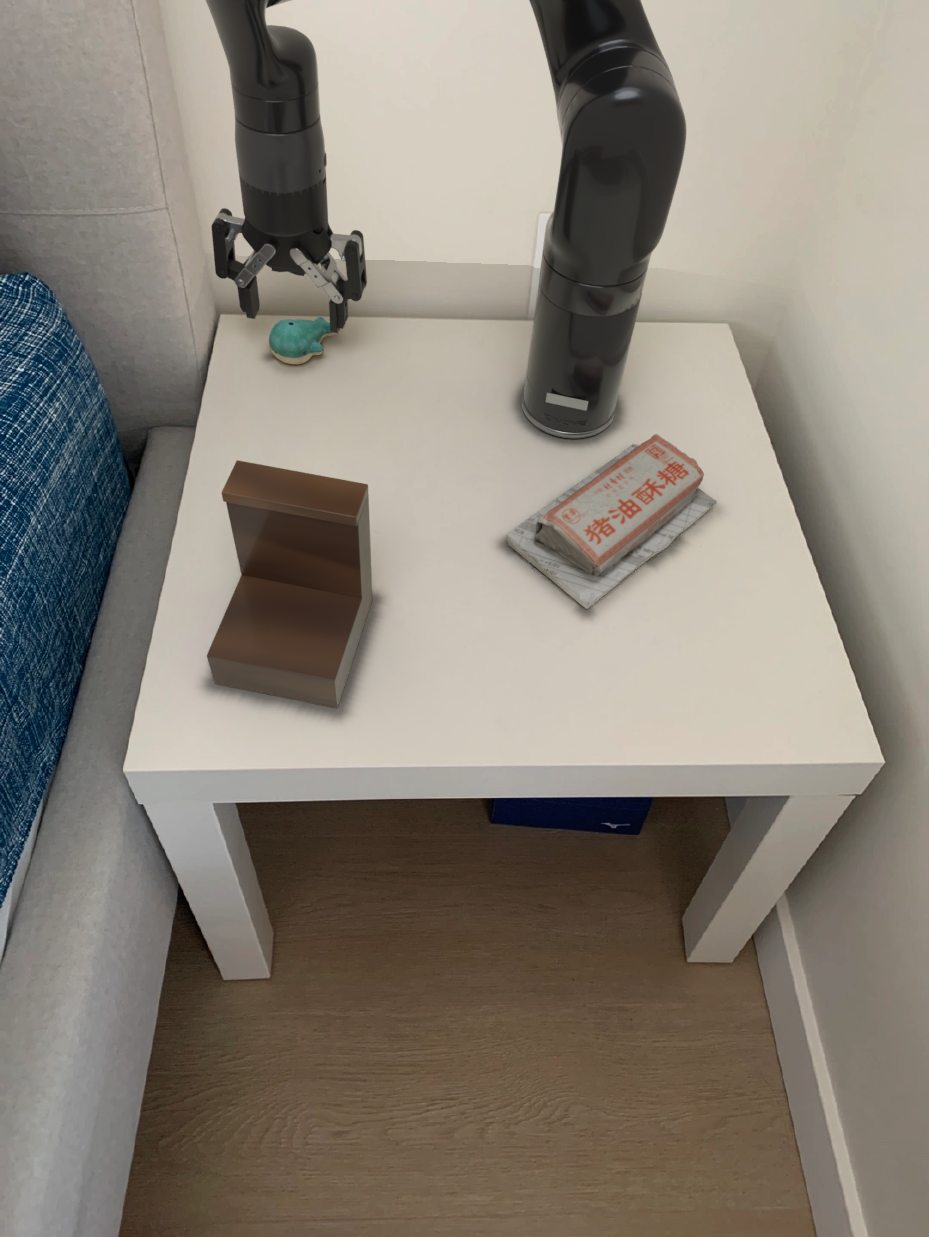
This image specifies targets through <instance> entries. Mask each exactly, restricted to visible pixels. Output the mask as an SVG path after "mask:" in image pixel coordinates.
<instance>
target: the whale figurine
mask: <svg viewBox="0 0 929 1237" xmlns="http://www.w3.org/2000/svg"><path fill="white" fill-rule="evenodd" d="M335 334H336V333H332V332H331V331H330V321H327V320H326V319H325V318H324V317H323V316H318V317H316V318H315V319H314V320H310V319H302V318H301V319H298V318H297V319H295V318H293V319H292V318H286V319H281V320H279V321H278V322H277V323H275V324H274V325H273V326H272V327H271V330H270V332H269V334H268V335H269V336H268V344H269V350H270V351H271V354H272V355H273V356H274V357H275V358H276V359H278V360H279V361H281V362H283V363H285V364H288V365H300V364H301V365H302V364H304V363H307V362H308V361H309V360H310V359H311V358H312V357H313V356H319V355H321V354H323V353H324V347H323V345H322V344H321V343H322V341H323V339H324V338H325V337H331V336H334V335H335Z"/></svg>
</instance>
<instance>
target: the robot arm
mask: <svg viewBox="0 0 929 1237" xmlns="http://www.w3.org/2000/svg"><path fill="white" fill-rule="evenodd" d="M291 1H292V0H205V2H206V5H207V7H208V10H209V13H210V15H211V18H212V20H213V24H214V26H215V29H216V31H217V34H218V38H219V40H220V43H221V47H222V49H223V52H224V55H225V58H226V61H227V65H228V69H229V76H230V77H229V78H230V79H229V80H230V85H231V92H232V93H231V94H232V102H233V109H234V144H235V145H234V146H235V153H236V159H237V161H236V162H237V169H238V178H239V185H240V194H241V195H240V196H241V202H242V209H243V210H242V211H243V216H244V218H242V217H238V216H233V212H232V211H231V210H229V209H228V208H226V207H223V208H221V209H220V210H219V212H218V214H217V216H216V217H215V219H214V220H213V222H212V224H211V237H212V248H213V260H214V270H215V274H216V276H217V277H218V278H219V279H222V280H225V279H227V278H228V279H230V280H231V281H233V282H234V284H235V285H236V287H237V294H238V301H239V308H240V310H241V311H242V312H243V313H245V315H246V316H245V317H246V318H247V319H252V320H255V319H256V317H257V316H258V314H259V312H260V307H261V302H260V294H259V285H258V278H257V275H258V274H259V273H260V271H262V269H263V268H264V267H265V266H267V267H268V268H270V269H271V272H276V273H289V274H293V275H295V276H300V277H305V275H307V276H308V277H309V279H310V280H311V281H312V283H314V286H316V287H317V288H321V289H322V290H323V291H324V293H325V294H326V295H327V296H328V298H329V302H328V310H329V323H330V331H331V332H332V333H335V334H339V332H340V331H341V329H342V330H344V328H345V325H346V323H347V321H348V318H349V300H351V301H352V302H353V301H354V302H359V301H360V300H361V299H362V296H363V293H364V290H365V288H366V287H367V284H368V278H367V266H366V253H365V239H364V233H362V231H360V230H357V229H354V230H352V231H351V232H350V234H341V233H334V231H333V230H332V228H331V225H330V223H329V210H328V208H329V207H328V206H329V205H328V188H327V187H328V186H327V168H326V167H327V153H326V145H325V144H326V143H325V137H324V135H325V134H324V130H323V126H322V120H321V105H320V83H319V70H318V69H319V68H318V66H319V65H318V59H317V53H316V50H315V46H314V44H313V43H312V40H311V39H310V38H309V37H308V36H307V35H306V34H305V33H303V32H302V31H300V30H298V29H295V28H293V27H289V26H285V25H275V24H267V18H266V10H267V9H269V8H271V7H272V8H273V7H276V6H278V5H281V4H285V3H288V2H291ZM528 2H529V4H530V6H531V9H532V13H533V15H534V18H535V21H536V24H537V29H538V32H539V35H540V39H541V42H542V46H543V50H544V53H545V54H544V55H545V58H546V62H547V66H548V71H549V75H550V79H551V85H552V88H553V95H554V100H555V110H556V117H557V122H558V128H559V135H560V140H561V157H560V166H559V174H558V180H557V181H558V182H557V188H556V193H555V199H554V200H555V201H554V207H553V211H552V212H551V214H550V215H549V216H548V219H547V220H546V224H545V229H544V237H543V245H542V252H541V260H540V269H539V276H538V284H537V292H536V299H535V300H536V301H535V306H534V307H535V308H534V314H533V321H532V329H531V337H530V344H529V353H528V358H527V366H526V367H527V368H526V374H525V381H524V388H523V391H522V396H521V408H522V411H523V413H524V415H525V417H526V419H527V420H528V421H529V422H530V423H531V424H532V425H533V426H534V427H536V428H537V429H539V430H540V431H542V432H544V433H547V434H548V435H552V436H555V437H558V438H564V439H585V438H589V437H592V436H593V437H594V436H595V435H597V434H600V433H602V432H603V431H604V430H606V429H607V428H608V427H609V426H610V425H611V424H612V423H613V420H614V418H615V414H616V410H617V402H618V397H619V393H620V389H621V385H622V380H623V378H624V372H625V369H626V365H627V360H628V356H629V351H630V348H631V342H632V340H633V339H632V338H633V334H634V330H635V325H636V321H637V318H638V312H639V308H640V304H641V300H642V296H643V290H644V286H645V282H646V277H647V274H648V268H649V265H650V261H651V258H652V253H653V252H654V251H655V249H656V248H657V247H658V245H659V244H660V241H661V239H662V237H663V235H664V231H665V228H666V224H667V222H668V221H667V220H668V218H669V214H670V210H671V207H672V204H673V201H674V200H673V199H674V196H675V192H676V188H677V185H678V181H679V177H680V173H681V169H682V165H683V162H684V156H685V150H686V144H687V120H686V116H685V112H684V109H683V106H682V102H681V100H680V96H679V93H678V90H677V86H676V84H675V80H674V77H673V75H672V72H671V70H670V67H669V64H668V63H667V60H666V59H665V57H664V55H663V53H662V50H661V49H660V46H659V44H658V41H657V39H656V36H655V34H654V32H653V29H652V27H651V24H650V22H649V19H648V15H647V13H646V10H645V8H644V5H643V3H642V0H528ZM239 234H241V235H242V237H243V239H244V240H245V241H246V243H247V244H248V245H249V246H250V247H251V249H252V252H251V253H250V254H249V255H248V257H247V258H246V259H245V261H244V262H241V261H238V260H237V259H236V248H235V241H236V240H237V238H238V236H239ZM332 249H334V250H335V251H336V252H337V253H338V256H339V258H340V261H342V262H345V269H346V277H345V276H344V274H343V273H342V272H341V270H340V269H339V268H338V266H337V265H338V264H337V261H336V259H335V258H334V257H333V256H332V254H331V252H330V251H331V250H332ZM319 264H320V266H319Z"/></svg>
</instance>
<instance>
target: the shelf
mask: <svg viewBox="0 0 929 1237" xmlns="http://www.w3.org/2000/svg"><path fill="white" fill-rule="evenodd" d="M369 494H370V493H369V484H368V483H363V482H358V481H353V480H352V481H351V480H347V479H341V478H336V477H331V476H325V475H320V474H313V473H309V472H304V471H299V470H294V469H293V470H291V469H288V468H282V467H275V466H270V465H266V464H259V463H254V462H248V461H242V460H235V463H234V466H233V468H232V469H231V471H230V473H229V476H228V478H227V480H226V482H225V484H224V486H223V488H222V490H221V497H222V501H223V502H224V503H225V504H226V508H227V514H228V518H229V523H230V529H231V532H232V533H231V534H232V537H233V541H234V542H233V543H234V547H235V550H236V557H237V561H238V566H239V570H240V577H239V579H238V582H237V584H236V587H235V588H234V591H233V594H232V596H231V598H230V600H229V603H228V605H227V608H226V610H225V612H224V614H223V617H222V618H221V622H220V624H219V626H218V628H217V630H216V633H215V634H214V635H215V636H214V637H213V640H212V642H211V645H210V646H209V649H208V651H207V654H206V658H207V662H208V665H209V669H210V673H211V676H212V680H213V683H214V684H215V685H219V686H224V687H229V688H234V689H239V690H245V691H249V692H254V693H258V694H264V695H269V696H273V697H279V698H284V699H288V700H289V699H290V700H293V701H298V702H304V703H309V704H314V705H318V706H324V707H329V708H334V709H338V708H339V705H340V702H341V698H342V695H343V693H344V690H345V686H346V683H347V680H348V677H349V674H350V671H351V667H352V665H353V661H354V658H355V655H356V652H357V649H358V646H359V643H360V640H361V635H362V633H363V630H364V627H365V624H366V621H367V618H368V615H369V612H370V608H371V606H372V602H373V580H372V579H373V578H372V577H373V576H372V575H373V574H372V549H371V547H372V546H371V520H370V500H369V499H370V497H369Z"/></svg>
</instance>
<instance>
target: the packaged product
mask: <svg viewBox="0 0 929 1237" xmlns="http://www.w3.org/2000/svg"><path fill="white" fill-rule="evenodd" d="M704 476H705V473H704V471H703V469H702V468H701V467H700V466H699V464H698V462H697V460H696V459H695V458H694V457H690V456H689V455H687V453H685V452H683V451H681V450H680V449H679V448H678V447H677V446H675V445H674V444H673V443H671V442H669V440H666V439H665V438H663V437H662V436H660V435H659V434H657V433H655V434H654V435H652V436H651V437H650V438H649V439H647V440H646V441H644V442H641V443H640V444H638V443H637V444H636V443H632V444H631V445H629V447H628V448H627V449H624V451H622V452H621V453H620V454H618V455H616V456H615V457H614V458H612V459H611V460H609V461H608V462H606V463H605V464H604V465H602V466H601V467H600V468H598V469H597V470H595V471H594V472H592V473H591V474H589V475H588V476H587V477H586V478H584V479H582V480H581V481H580V482H578V483H577V484H576V485H575V486H573V487H571V488H570V489H568V490H567V491H566V492H564V493H563V494H561V495H560V496H558V497H557V498H556V499H554V500H553V501H552V502H551V503H549V504H548V505H546V506H544V507H543V508H541V509H540V510H539V511H537V512H536V513H534V514H533V515H531V516H530V517H528V518H527V519H526V520H525V521H523V522H521V523H520V524H519V525H518V526H517V527H515V528H513V529H512V530H510V531H508V532H507V534H506V541H507V545H508V546H509V547H510V548H511V549H512V550H514V551H515V552H516V553H518V554H519V555H520V556H521V557H523V558H524V559H525V560H526V561H527V562H529V563H530V564H531V565H533V567H535V568H536V569H537V570H539V571H540V572H541V573H542V574H544V576H546V577H547V578H548V579H549V580H551V581H552V582H553V583H554V584H555V585H557V586H558V587H559V588H560V589H562V590H563V591H564V592H566V594H568V595H569V596H570V597H571V598H572V599H574V601H576V602H577V603H579V605H581V606H582V607H583V608H585V609H586V610H588V609H589V608H591V607H592V606H593V605H594V604H595V603H597V602H599V600H600V599H601V598H603V597H604V596H605V595H606V594H607V593H609V592H610V591H611V590H612V589H614V588H615V587H616V586H618V585H619V584H620V583H621V582H622V581H623V580H624V579H625V578H626V577H627V576H629V575H630V574H631V573H633V572H634V571H635V570H636V569H638V568H639V567H641V566H642V565H643V564H645V563H646V562H648V560H650V559H652V558H653V557H655V556H656V555H658V554H659V553H661V552H662V551H664V550H665V549H667V548H668V547H669V546H670V545H671V544H672V542H673V541H674V540H675V539H676V538H677V537H678V536H679V535H681V533H682V532H684V531H686V529H688V528H690V526H692V525H693V524H695V523H696V522H697V521H698V520H699V519H700V518H702V516H704V515H705V514H706V513H707V512H708V511H709V510H711V509H712V508H713V507H715V505H717V503H718V502H717V501H718V500H716V499H714V498H713V497H711V496H710V495H709V494H707V493H706V492H705V491H703V490H702V489H701V488H699V487H700V485H701V483H702V482H703V479H704V478H705V477H704Z"/></svg>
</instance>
